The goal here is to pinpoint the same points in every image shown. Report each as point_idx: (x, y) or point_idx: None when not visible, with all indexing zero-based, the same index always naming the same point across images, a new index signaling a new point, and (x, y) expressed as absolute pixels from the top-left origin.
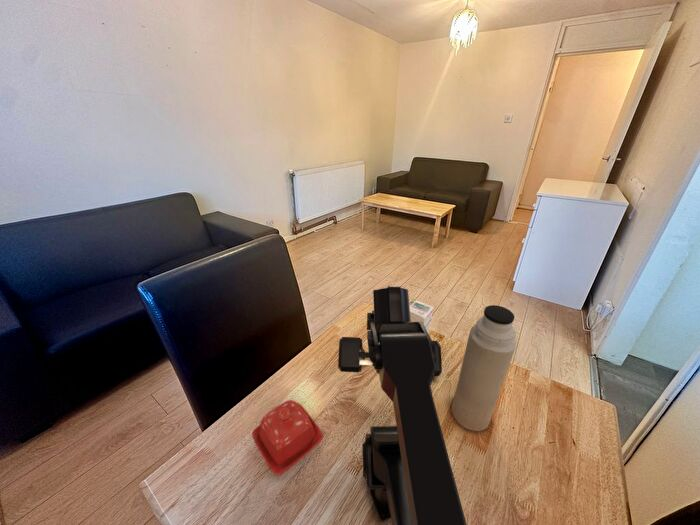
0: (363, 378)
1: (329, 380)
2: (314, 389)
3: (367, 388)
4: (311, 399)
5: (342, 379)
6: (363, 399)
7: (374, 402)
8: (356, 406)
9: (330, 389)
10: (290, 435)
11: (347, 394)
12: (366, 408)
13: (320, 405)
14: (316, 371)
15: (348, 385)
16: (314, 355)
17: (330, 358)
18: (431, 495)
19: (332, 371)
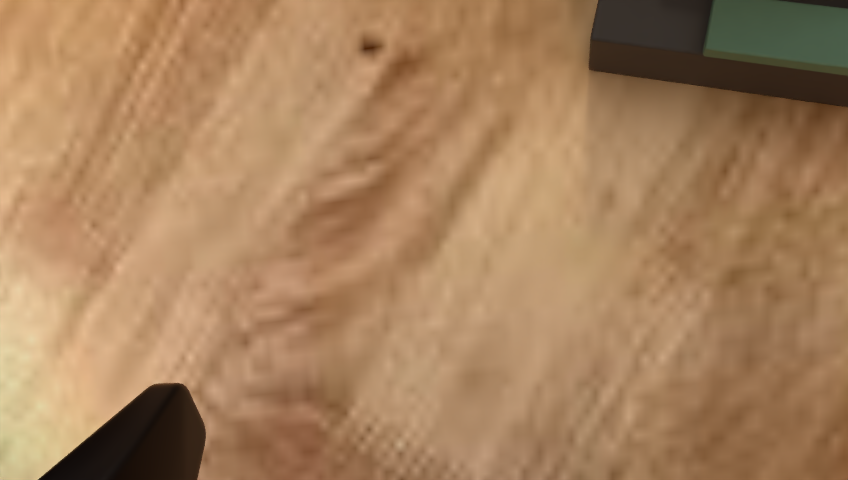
0: (396, 196)
1: (144, 248)
2: (51, 339)
3: (431, 288)
4: (41, 425)
5: (237, 227)
6: (405, 392)
7: (491, 412)
8: (356, 459)
9: (159, 327)
10: None
11: (283, 359)
12: (431, 471)
13: None
14: (46, 179)
15: (285, 277)
16: (16, 32)
17: (132, 40)
18: None
19: (158, 162)
